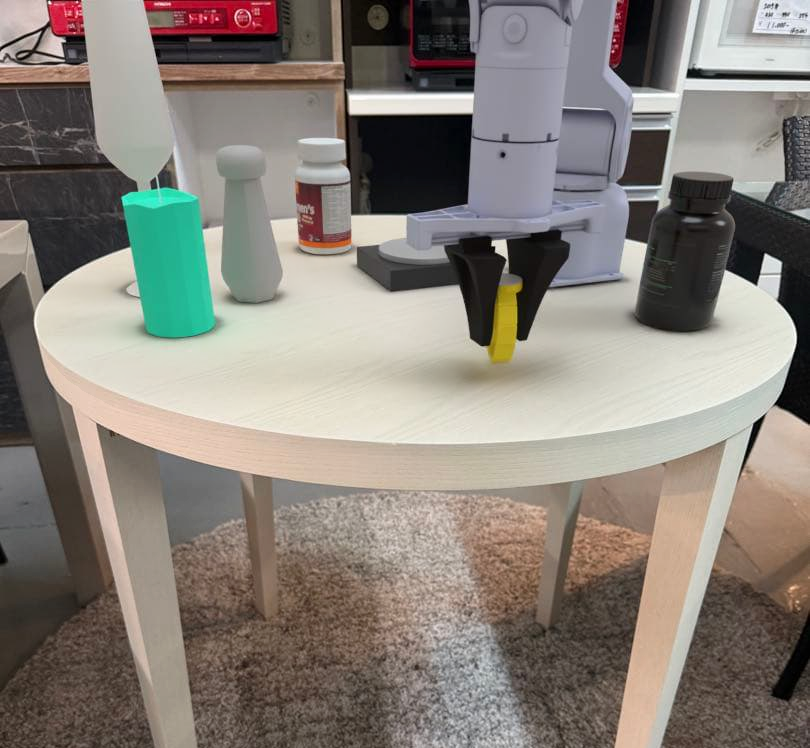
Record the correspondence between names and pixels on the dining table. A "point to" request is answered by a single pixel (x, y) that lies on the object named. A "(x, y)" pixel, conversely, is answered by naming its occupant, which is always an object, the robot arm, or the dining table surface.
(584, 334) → the dining table surface
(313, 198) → the pill bottle
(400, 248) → the scale
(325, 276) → the dining table surface
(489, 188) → the robot arm
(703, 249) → the supplement bottle
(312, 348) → the dining table surface
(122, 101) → the champagne flute
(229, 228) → the salt shaker
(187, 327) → the candle
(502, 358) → the watch
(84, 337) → the dining table surface
